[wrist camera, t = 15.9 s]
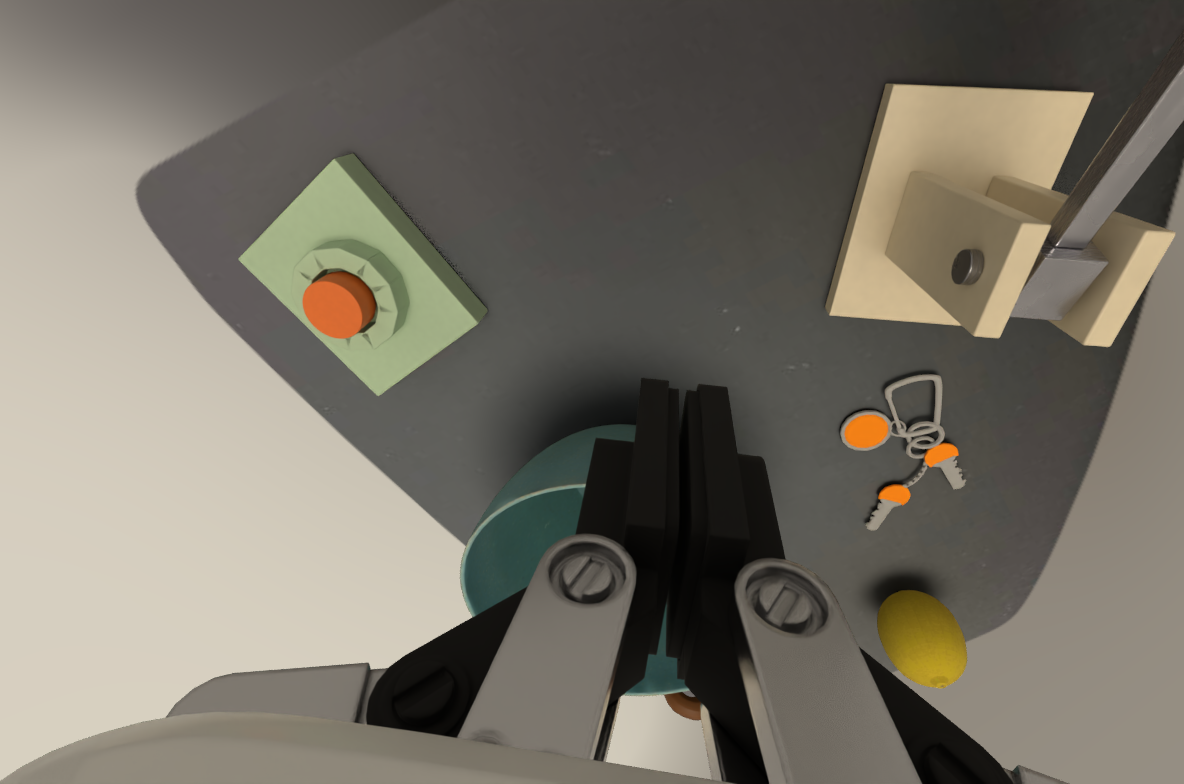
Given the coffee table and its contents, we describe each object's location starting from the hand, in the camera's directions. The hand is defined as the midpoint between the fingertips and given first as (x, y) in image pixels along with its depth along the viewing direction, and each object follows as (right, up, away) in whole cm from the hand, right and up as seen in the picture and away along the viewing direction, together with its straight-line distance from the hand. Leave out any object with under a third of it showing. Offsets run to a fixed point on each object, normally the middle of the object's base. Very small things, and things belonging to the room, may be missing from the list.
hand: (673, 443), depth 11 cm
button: (-17, +7, +22) cm, 29 cm away
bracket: (+17, +11, +19) cm, 28 cm away
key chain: (+20, -3, +27) cm, 34 cm away
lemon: (+24, -15, +34) cm, 44 cm away
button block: (-16, +8, +25) cm, 31 cm away
